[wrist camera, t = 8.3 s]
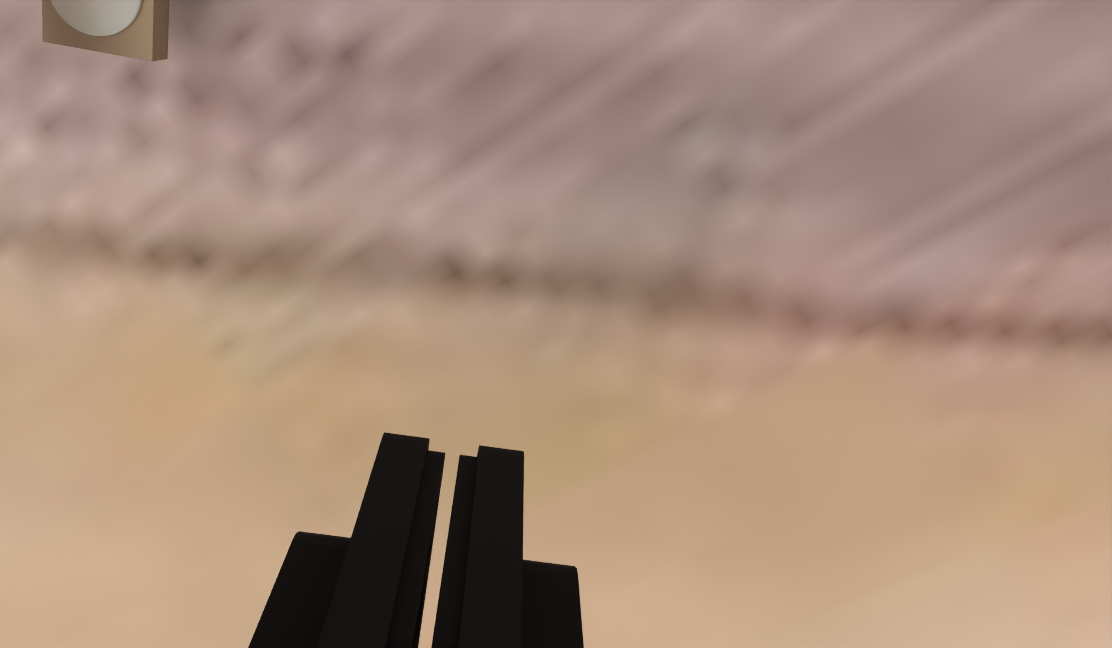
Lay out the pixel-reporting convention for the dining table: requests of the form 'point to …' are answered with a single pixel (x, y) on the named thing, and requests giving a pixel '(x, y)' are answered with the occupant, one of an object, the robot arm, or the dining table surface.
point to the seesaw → (109, 26)
